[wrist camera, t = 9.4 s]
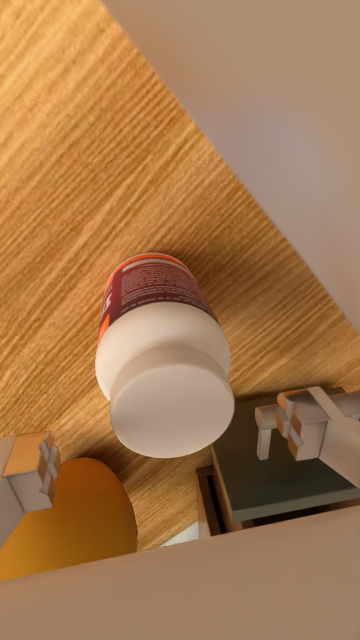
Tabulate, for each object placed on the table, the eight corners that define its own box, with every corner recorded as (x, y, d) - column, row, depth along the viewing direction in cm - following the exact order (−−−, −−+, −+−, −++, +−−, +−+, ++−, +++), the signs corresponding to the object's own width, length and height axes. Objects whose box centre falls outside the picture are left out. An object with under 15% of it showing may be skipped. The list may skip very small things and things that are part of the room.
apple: (21, 427, 25) (-50, 621, 15) (143, 433, 27) (155, 603, 17) (20, 505, 29) (-37, 698, 19) (126, 504, 31) (127, 675, 21)
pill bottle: (90, 263, 20) (59, 372, 10) (187, 239, 20) (246, 323, 10) (120, 344, 23) (117, 487, 13) (203, 323, 23) (260, 448, 13)
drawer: (199, 365, 23) (234, 462, 16) (351, 343, 25) (446, 425, 17) (204, 507, 32) (228, 613, 25) (316, 485, 33) (371, 580, 26)
